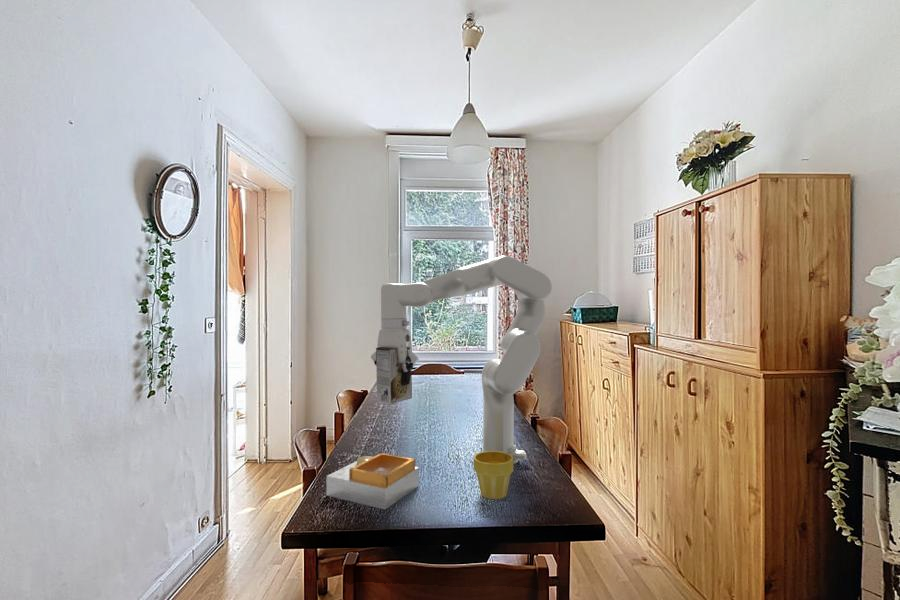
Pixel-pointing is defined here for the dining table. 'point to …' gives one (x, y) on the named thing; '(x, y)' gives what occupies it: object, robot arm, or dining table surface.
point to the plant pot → (493, 473)
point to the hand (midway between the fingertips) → (394, 383)
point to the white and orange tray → (374, 480)
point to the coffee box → (391, 377)
